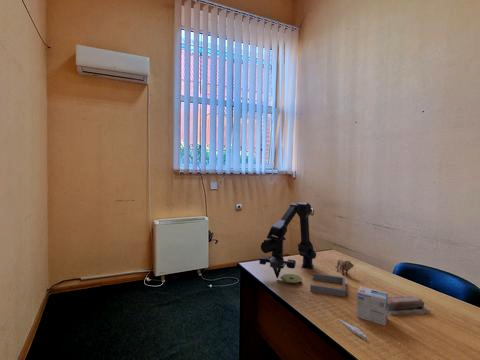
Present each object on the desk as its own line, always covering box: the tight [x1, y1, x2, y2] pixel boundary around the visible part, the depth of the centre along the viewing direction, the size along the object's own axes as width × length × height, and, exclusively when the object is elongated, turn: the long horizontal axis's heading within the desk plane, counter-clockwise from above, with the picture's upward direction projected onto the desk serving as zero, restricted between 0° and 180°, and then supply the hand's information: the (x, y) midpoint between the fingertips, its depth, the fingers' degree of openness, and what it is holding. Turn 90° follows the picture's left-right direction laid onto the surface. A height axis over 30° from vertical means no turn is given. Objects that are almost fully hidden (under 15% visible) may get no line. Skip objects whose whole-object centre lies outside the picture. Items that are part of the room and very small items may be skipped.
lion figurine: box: [335, 258, 354, 277], centre depth 155 cm, size 15×5×9 cm, turn 14°
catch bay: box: [309, 272, 346, 298], centre depth 136 cm, size 16×16×3 cm
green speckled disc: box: [280, 273, 303, 284], centre depth 142 cm, size 11×11×2 cm
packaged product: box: [387, 295, 431, 316], centre depth 116 cm, size 18×5×10 cm
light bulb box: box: [355, 286, 389, 326], centre depth 109 cm, size 11×7×11 cm, turn 56°
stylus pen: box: [336, 318, 368, 341], centre depth 101 cm, size 15×3×2 cm, turn 22°
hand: (277, 277), depth 145 cm, fingers closed
